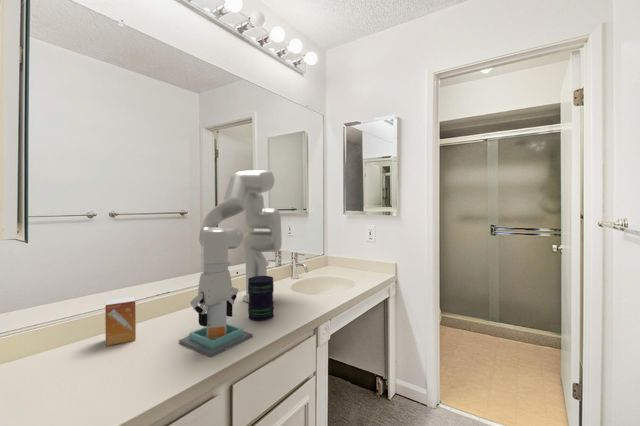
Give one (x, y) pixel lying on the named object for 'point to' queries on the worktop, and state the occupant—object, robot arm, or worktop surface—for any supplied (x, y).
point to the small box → (120, 320)
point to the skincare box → (216, 320)
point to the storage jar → (260, 298)
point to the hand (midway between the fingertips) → (216, 320)
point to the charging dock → (215, 340)
